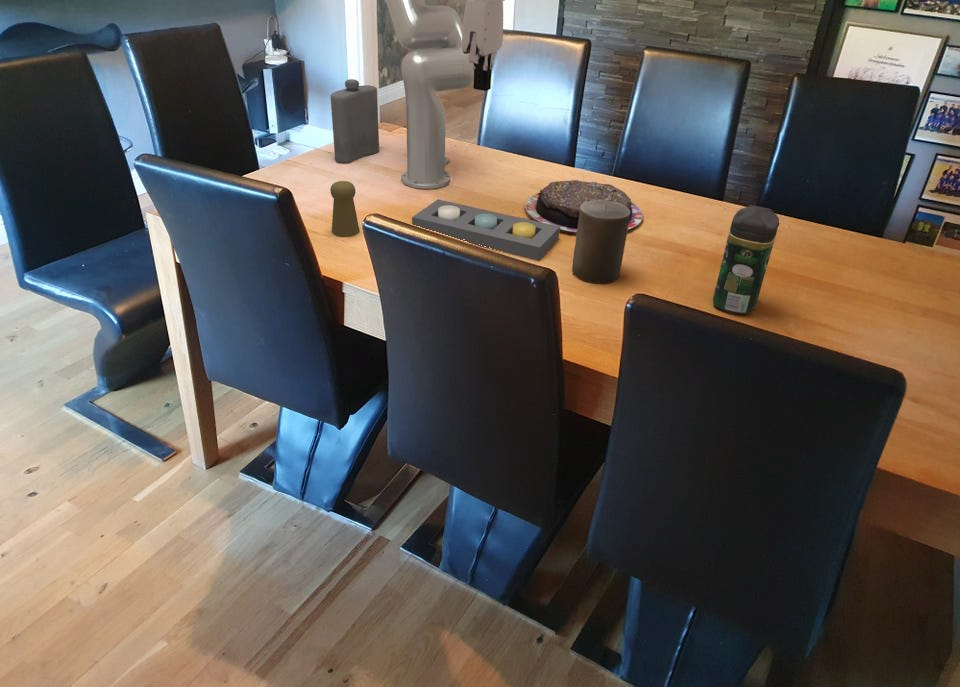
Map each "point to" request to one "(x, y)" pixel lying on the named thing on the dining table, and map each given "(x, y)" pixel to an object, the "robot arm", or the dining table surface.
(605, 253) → the pillar candle
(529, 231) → the mustard button
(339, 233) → the cork
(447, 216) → the ivory button
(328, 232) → the dining table surface
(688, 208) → the dining table surface
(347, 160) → the flask
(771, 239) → the coffee jar
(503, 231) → the console
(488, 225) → the teal button
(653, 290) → the dining table surface
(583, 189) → the chocolate cake
